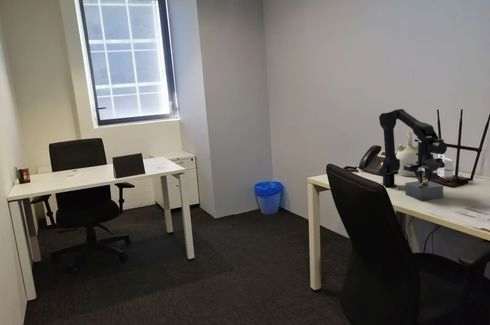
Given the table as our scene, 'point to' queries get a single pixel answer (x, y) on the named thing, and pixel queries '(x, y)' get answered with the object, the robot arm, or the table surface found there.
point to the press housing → (424, 190)
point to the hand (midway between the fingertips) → (423, 183)
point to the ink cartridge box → (445, 168)
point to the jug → (407, 156)
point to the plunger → (424, 181)
